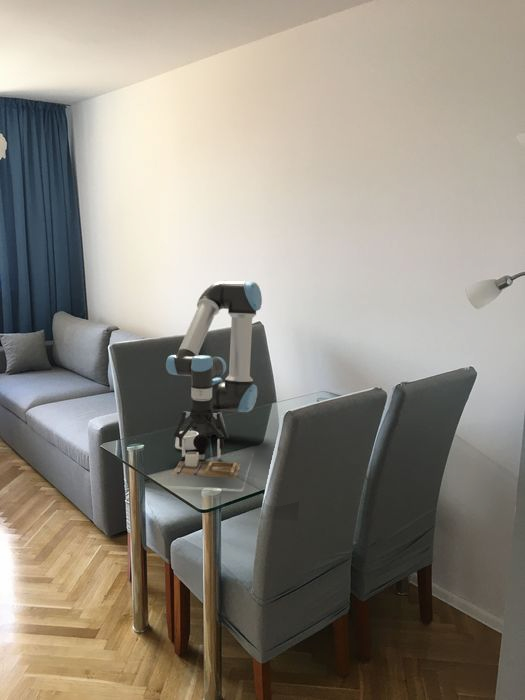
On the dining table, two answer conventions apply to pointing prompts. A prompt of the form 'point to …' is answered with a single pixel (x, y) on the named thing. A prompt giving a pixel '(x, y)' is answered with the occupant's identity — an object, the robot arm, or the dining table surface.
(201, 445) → the light bulb
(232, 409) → the robot arm
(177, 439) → the mug
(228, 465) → the wooden tray
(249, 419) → the dining table surface
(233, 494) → the dining table surface
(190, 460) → the white block
